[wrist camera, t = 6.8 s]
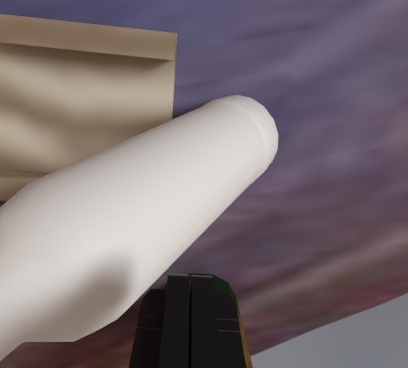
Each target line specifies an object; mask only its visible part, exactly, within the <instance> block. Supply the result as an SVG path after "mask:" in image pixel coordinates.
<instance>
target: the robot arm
mask: <svg viewBox="0 0 408 368" xmlns="http://www.w3.org/2000/svg"><path fill="white" fill-rule="evenodd" d="M129 368H246V362H245V356H244V349H243V343H242V337H241V333H240V325H239V321H238V313H237V307H236V304H235V302H234V301H233V299H232V298H231V296H230V295H229V294H228V293H222V292H214V281H213V276H204V275H191V281H190V275H183V274H168V280H167V289H166V290H160V289H150V291H149V292H148V293H147V295H146V296H145V297H144V299H143V300H142V303H141V308H140V313H139V318H138V323H137V329H136V334H135V339H134V344H133V349H132V354H131V359H130V365H129Z"/></svg>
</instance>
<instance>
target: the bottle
mask: <svg viewBox="0 0 408 368" xmlns="http://www.w3.org/2000/svg"><path fill="white" fill-rule="evenodd" d="M277 149H278V132H277V129H276V125H275V122H274V119H273V118H272V117H271V115H270V114H269V113H268V111H267V110H266V109H265V107H264V106H262V105H261V104H259V103H258V102H256V101H255V100H253V99H252V98H249V97H245V96H241V95H232V96H226V97H222V98H220V99H215V100H212V101H210V102H208V103H207V104H205V105H204V106H202V107H200V108H198V109H195V110H193V111H191V112H188V113H186V114H184V115H182V116H179V117H177V118H175V119H173V120H170V121H168V122H166V123H164V124H161V125H159V126H157V127H155V128H152V129H150V130H148V131H146V132H143V133H141V134H139V135H137V136H134V137H132V138H130V139H127V140H125V141H123V142H121V143H118V144H116V145H114V146H112V147H109V148H107V149H105V150H103V151H100V152H98V153H96V154H94V155H91V156H89V157H87V158H85V159H82V160H80V161H78V162H75V163H73V164H71V165H69V166H66V167H64V168H62V169H60V170H57V171H55V172H53V173H51V174H48V175H46V176H44V177H42V178H39V179H37V180H35V181H33V182H30V183H28V184H27V185H26V186H24V187H23V188H22V189H21V190H19V191H18V192H17V193H16V194H15V195H14V196H12V197H11V198H10V199H9V200H8V201H7V202H5V203H4V204H3V205H2V206H1V207H0V361H1V360H2V359H3V358H4V357H6V356H7V355H8V354H9V353H10V352H12V351H13V350H14V349H15V348H16V347H18V346H19V345H20V344H21V343H22V342H74V341H76V340H78V339H80V338H82V337H84V336H87V335H89V334H91V333H93V332H95V331H97V330H99V329H101V328H102V327H104V326H106V325H108V324H110V323H111V322H113V321H115V320H117V319H118V318H119V317H120V316H121V315H122V314H123V313H124V312H125V311H126V310H127V309H128V308H129V307H130V306H131V305H132V304H133V303H134V302H135V301H136V300H137V299H138V298H139V297H140V296H141V295H142V294H143V293H144V292H145V291H146V290H147V289H148V288H149V287H150V286H151V285H152V284H153V283H154V282H155V281H156V280H157V279H158V278H159V277H160V276H161V275H162V274H163V273H164V272H165V271H166V270H167V269H168V267H169V266H170V265H171V264H172V263H173V262H174V261H175V260H176V259H177V258H178V257H179V256H180V255H181V254H182V253H183V252H184V251H185V250H186V249H187V248H188V247H189V246H190V245H191V244H192V243H193V242H194V241H195V240H196V239H197V238H198V237H199V236H200V235H201V234H202V233H203V232H204V231H205V230H206V229H207V228H208V227H209V226H210V225H211V224H212V223H213V222H214V221H215V220H216V218H217V217H218V216H219V215H220V214H221V213H222V212H223V211H224V210H225V209H226V208H227V207H228V206H229V205H230V204H231V203H232V202H233V201H234V200H235V199H236V198H237V197H238V196H239V195H240V194H241V193H242V192H243V191H244V190H245V189H246V188H247V187H248V186H249V185H250V184H252V183H253V182H254V181H255V180H256V179H257V178H258V177H259V176H260V175H261V174H262V173H263V172H264V171H265V170H266V169H267V168H268V166H269V164H270V163H271V162H272V161H273V159H274V156H275V154H276V152H277Z"/></svg>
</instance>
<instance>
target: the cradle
mask: <svg viewBox="0 0 408 368" xmlns="http://www.w3.org/2000/svg"><path fill="white" fill-rule="evenodd" d="M176 47H177V33H170V32H161V31H152V30H142V29H133V28H124V27H115V26H106V25H97V24H88V23H79V22H70V21H60V20H51V19H42V18H33V17H24V16H15V15H6V14H0V200H1V201H8V200H9V199H10V198H11V197H12V196H14V195H15V194H16V193H17V192H18V191H19V190H21V189H22V188H23V187H24V186H26V185H27V184H28V183H30V182H33V181H35V180H37V179H39V178H42V177H44V176H46V175H48V174H51V173H53V172H55V171H57V170H60V169H62V168H64V167H66V166H69V165H71V164H73V163H75V162H78V161H80V160H82V159H85V158H87V157H89V156H91V155H94V154H96V153H98V152H100V151H103V150H105V149H107V148H109V147H112V146H114V145H116V144H118V143H121V142H123V141H125V140H127V139H130V138H132V137H134V136H137V135H139V134H141V133H143V132H146V131H148V130H150V129H152V128H155V127H157V126H159V125H161V124H164V123H166V122H168V121H170V120H172V114H173V97H174V81H175V64H176Z"/></svg>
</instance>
